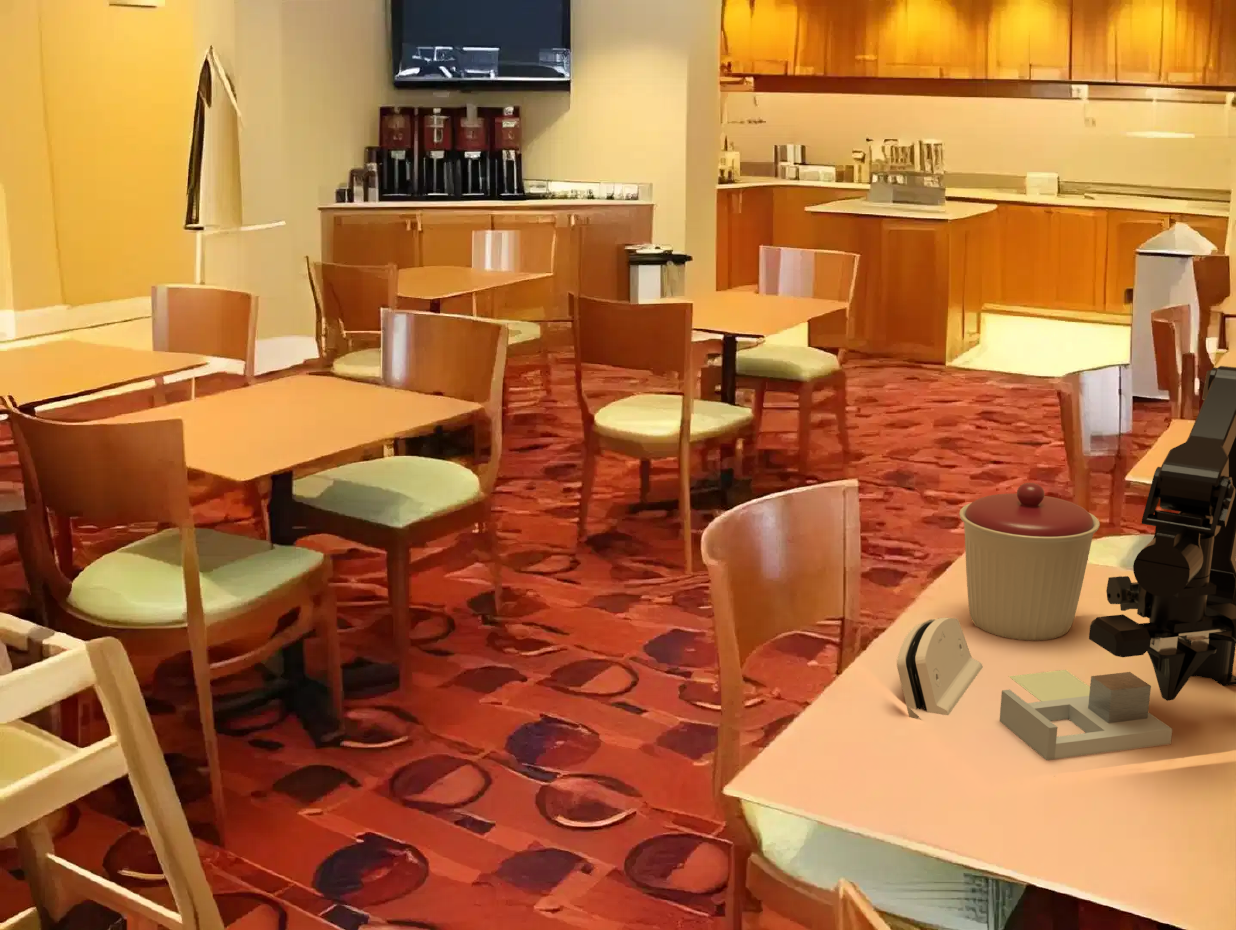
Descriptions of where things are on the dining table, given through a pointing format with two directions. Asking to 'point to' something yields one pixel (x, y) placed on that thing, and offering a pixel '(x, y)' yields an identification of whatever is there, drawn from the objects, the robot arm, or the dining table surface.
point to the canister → (1025, 562)
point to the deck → (1099, 737)
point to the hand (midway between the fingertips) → (1167, 699)
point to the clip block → (1119, 697)
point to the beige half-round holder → (935, 666)
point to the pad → (1052, 685)
